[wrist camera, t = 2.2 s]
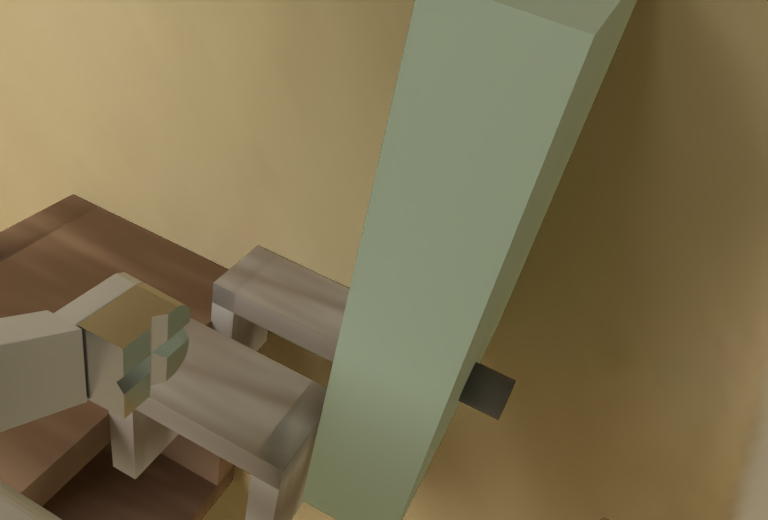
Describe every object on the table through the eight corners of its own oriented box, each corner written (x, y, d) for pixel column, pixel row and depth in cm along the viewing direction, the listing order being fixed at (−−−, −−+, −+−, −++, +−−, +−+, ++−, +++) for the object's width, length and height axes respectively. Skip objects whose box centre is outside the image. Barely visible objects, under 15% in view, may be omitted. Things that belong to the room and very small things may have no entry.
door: (564, -83, 17) (420, -24, 9) (708, -40, 16) (687, 66, 8) (437, 294, 24) (301, 499, 17) (529, 336, 24) (431, 572, 16)
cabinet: (69, 156, 29) (-320, 337, 18) (398, 311, 26) (153, 649, 15) (93, 402, 39) (-148, 610, 29) (331, 537, 36) (157, 835, 25)
